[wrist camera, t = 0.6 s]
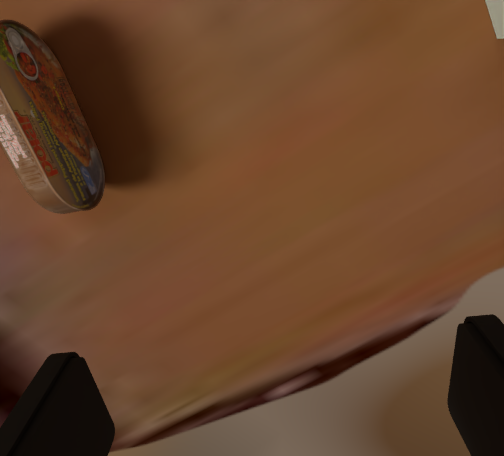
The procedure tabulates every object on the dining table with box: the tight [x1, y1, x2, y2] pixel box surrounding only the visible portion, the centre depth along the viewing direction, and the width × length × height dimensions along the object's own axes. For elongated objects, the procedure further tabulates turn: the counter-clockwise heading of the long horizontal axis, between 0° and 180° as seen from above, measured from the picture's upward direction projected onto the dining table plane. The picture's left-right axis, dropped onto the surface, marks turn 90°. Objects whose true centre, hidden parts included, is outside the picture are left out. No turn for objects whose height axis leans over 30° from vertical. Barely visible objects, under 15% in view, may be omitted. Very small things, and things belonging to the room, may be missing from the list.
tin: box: [0, 20, 105, 214], centre depth 31 cm, size 15×3×8 cm, turn 14°
